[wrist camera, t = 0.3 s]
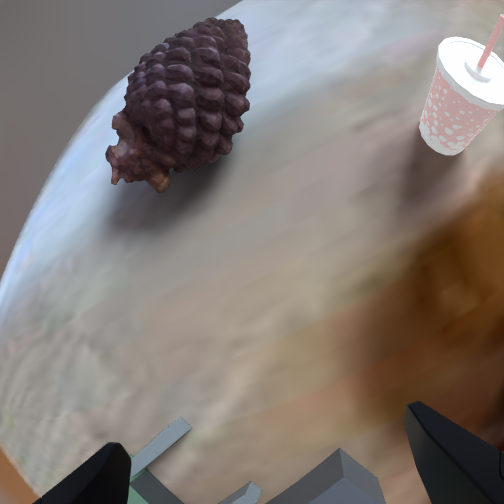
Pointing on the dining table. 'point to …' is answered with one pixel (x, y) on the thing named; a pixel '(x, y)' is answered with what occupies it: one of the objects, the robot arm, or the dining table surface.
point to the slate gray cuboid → (334, 484)
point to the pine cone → (182, 104)
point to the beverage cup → (463, 92)
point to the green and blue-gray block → (153, 491)
